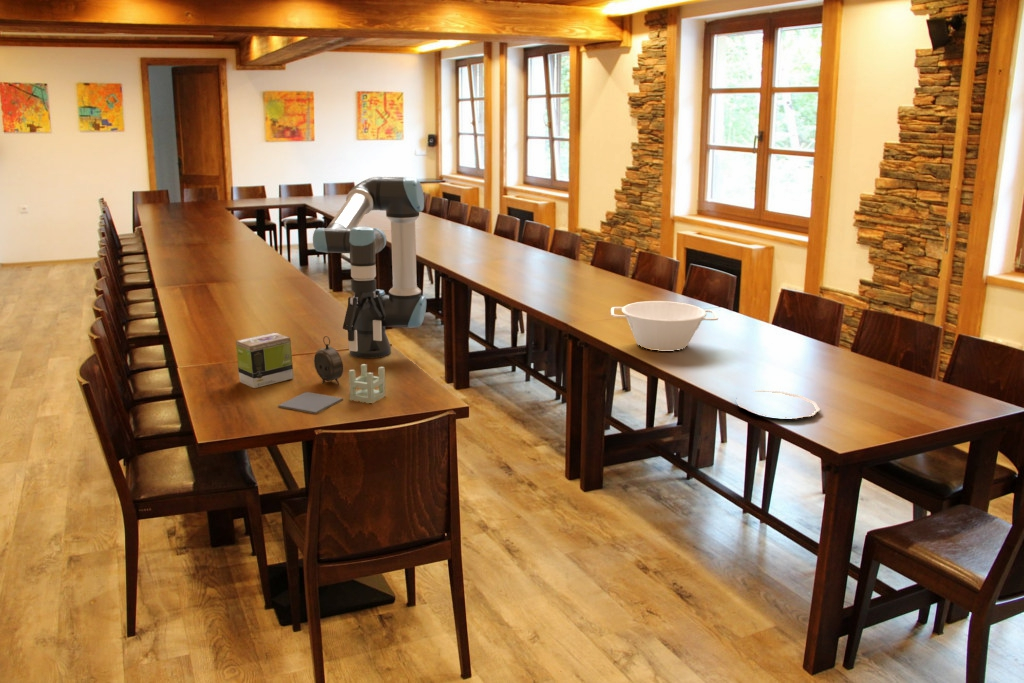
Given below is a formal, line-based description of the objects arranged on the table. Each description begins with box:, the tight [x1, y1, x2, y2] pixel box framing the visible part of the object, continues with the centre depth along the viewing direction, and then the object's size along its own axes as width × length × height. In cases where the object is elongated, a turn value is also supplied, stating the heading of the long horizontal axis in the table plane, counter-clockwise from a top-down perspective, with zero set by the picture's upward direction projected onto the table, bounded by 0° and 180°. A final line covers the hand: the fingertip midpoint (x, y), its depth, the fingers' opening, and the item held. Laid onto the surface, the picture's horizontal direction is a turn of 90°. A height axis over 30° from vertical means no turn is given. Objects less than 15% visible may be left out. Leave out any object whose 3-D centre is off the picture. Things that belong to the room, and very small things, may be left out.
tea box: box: [235, 331, 294, 389], centre depth 296 cm, size 15×10×15 cm
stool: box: [348, 363, 386, 404], centre depth 280 cm, size 8×8×10 cm
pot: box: [610, 300, 719, 350], centre depth 342 cm, size 40×32×14 cm
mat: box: [277, 391, 344, 415], centre depth 276 cm, size 14×14×1 cm
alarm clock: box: [313, 335, 344, 386], centre depth 294 cm, size 11×5×16 cm, turn 47°
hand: (365, 345), depth 277 cm, fingers open, 13 cm apart
